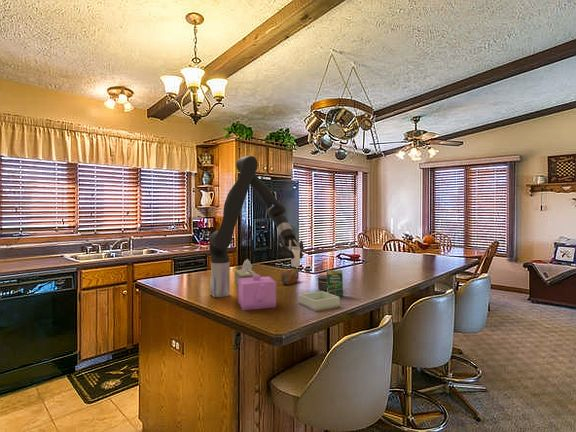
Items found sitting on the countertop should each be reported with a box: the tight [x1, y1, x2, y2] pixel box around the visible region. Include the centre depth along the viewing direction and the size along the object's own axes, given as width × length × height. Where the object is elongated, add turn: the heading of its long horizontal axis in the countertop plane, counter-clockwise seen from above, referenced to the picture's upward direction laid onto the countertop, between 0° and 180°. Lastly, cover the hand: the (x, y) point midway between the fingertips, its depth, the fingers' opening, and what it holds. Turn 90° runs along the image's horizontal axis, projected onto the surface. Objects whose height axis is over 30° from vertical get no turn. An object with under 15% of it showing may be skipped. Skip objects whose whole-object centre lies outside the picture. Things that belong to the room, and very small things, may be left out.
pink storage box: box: [237, 274, 277, 311], centre depth 160 cm, size 15×25×14 cm, turn 18°
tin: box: [280, 268, 299, 285], centre depth 209 cm, size 15×3×8 cm, turn 143°
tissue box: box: [234, 258, 259, 287], centre depth 202 cm, size 19×10×16 cm, turn 19°
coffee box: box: [326, 269, 344, 298], centre depth 177 cm, size 8×3×13 cm, turn 90°
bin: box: [297, 290, 341, 312], centre depth 160 cm, size 14×14×4 cm
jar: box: [317, 274, 327, 293], centre depth 189 cm, size 10×10×8 cm
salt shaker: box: [290, 246, 301, 268], centre depth 179 cm, size 4×4×10 cm
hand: (297, 257), depth 178 cm, fingers closed on salt shaker, 4 cm apart
